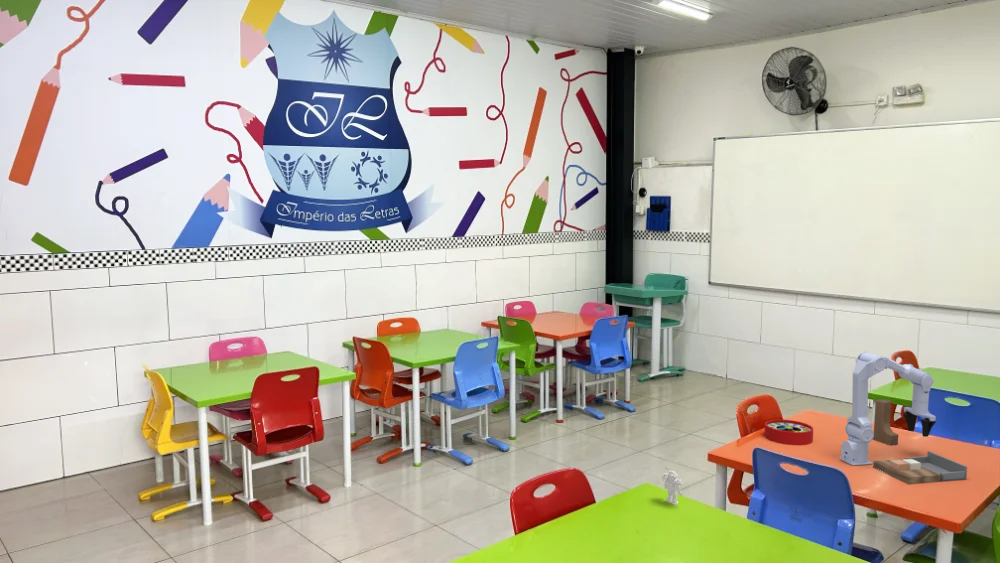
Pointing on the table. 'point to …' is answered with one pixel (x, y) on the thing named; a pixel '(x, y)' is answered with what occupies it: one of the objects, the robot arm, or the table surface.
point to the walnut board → (908, 473)
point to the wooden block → (883, 423)
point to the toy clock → (788, 432)
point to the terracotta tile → (899, 465)
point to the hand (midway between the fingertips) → (918, 433)
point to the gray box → (942, 466)
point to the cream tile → (913, 464)
